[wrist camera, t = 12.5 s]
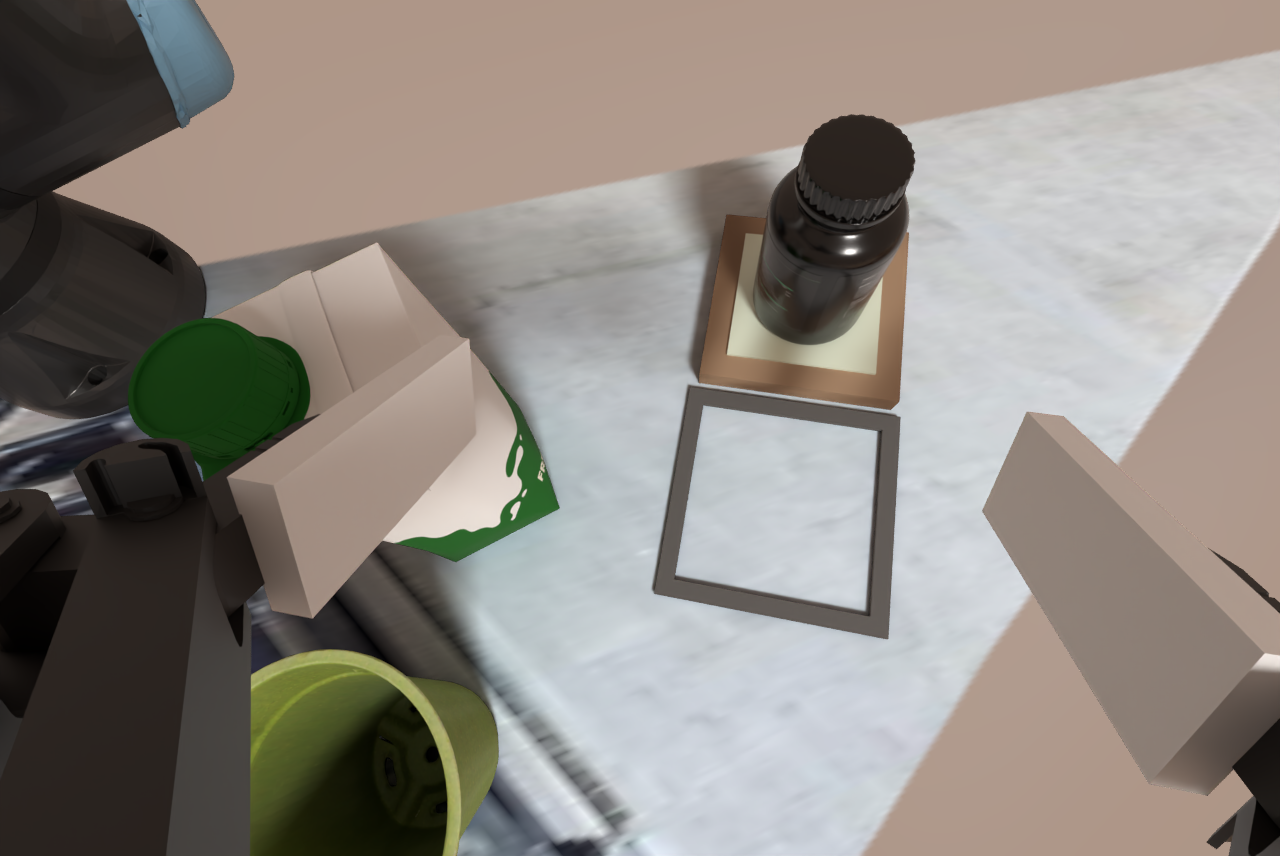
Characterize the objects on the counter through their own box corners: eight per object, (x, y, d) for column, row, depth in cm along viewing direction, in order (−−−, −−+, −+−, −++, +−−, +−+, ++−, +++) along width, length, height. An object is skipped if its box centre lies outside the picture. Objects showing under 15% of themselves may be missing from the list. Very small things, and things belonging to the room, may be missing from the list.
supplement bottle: (847, 247, 37) (917, 84, 25) (873, 340, 35) (961, 207, 23) (743, 262, 37) (765, 108, 26) (762, 356, 35) (795, 232, 24)
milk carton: (401, 459, 37) (92, 297, 18) (526, 397, 37) (357, 176, 18) (447, 583, 34) (140, 549, 15) (581, 514, 35) (450, 396, 16)
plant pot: (438, 594, 34) (323, 586, 23) (583, 740, 31) (527, 808, 20) (289, 762, 32) (85, 839, 21) (429, 937, 28) (273, 1132, 18)
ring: (654, 593, 33) (654, 593, 32) (690, 388, 36) (690, 387, 36) (886, 638, 31) (888, 639, 31) (898, 418, 35) (900, 417, 34)
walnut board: (699, 382, 37) (699, 372, 35) (725, 228, 40) (726, 212, 38) (890, 409, 35) (900, 400, 33) (900, 246, 38) (909, 230, 37)
